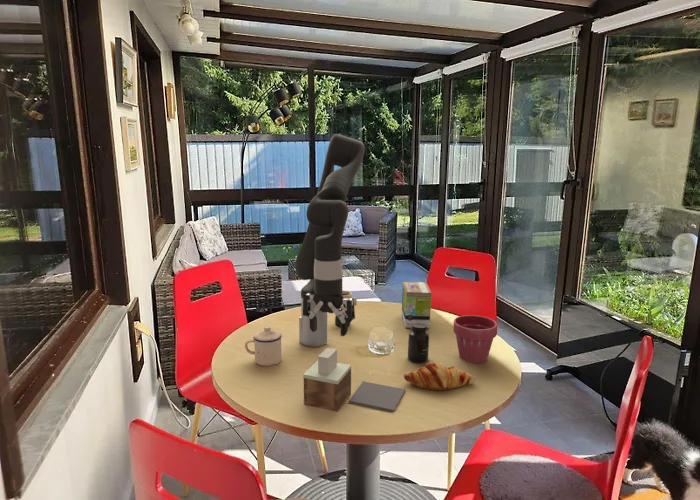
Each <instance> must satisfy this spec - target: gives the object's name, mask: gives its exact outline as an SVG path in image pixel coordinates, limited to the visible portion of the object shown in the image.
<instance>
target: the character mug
mask: <svg viewBox="0 0 700 500" xmlns="http://www.w3.org/2000/svg"><path fill="white" fill-rule="evenodd" d="M342 296H343V298H344V299H350V298H353V299H354V307H356V306H357V305H358V303H357V302H358V301H357V300H358V299H357V297H353V293H352V291H349V290H342ZM341 306H342V307H343V309H344V310H345V313H346V315H347V307H346V306H345V304H344V303H343V304H342V305H341ZM338 311H339V310H338ZM351 322H352V321H351ZM351 322H348V326H350V325H351ZM334 323H335V326H340V327H341V323H342V322H341V321H340V319H339V318H338V317H337V316H336V315H335V318H334Z"/></svg>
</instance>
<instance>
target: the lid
mask: <svg viewBox="0 0 700 500" xmlns="http://www.w3.org/2000/svg"><path fill="white" fill-rule="evenodd" d="M317 357H318V358H317V361H315V362H314V363H313V364H312V366H310V367H309V368H308V369H307V370H306V371H305V372H304V373H303V376H302V377H303V379H304V378H307V379H312V380H317V381H323V382H328V383H333V384H338V383H339V382H340V381H341V380H342V379H343V377H344V376H345V375H346V374H347V373H348V372H349V370H350V369H351V370H352V365H351V364H346V363H341V362H338V349H337V348H331V347H327V348H325V349H324V350H323V351H322V352H321V353H320V354H319V355H318V356H317Z"/></svg>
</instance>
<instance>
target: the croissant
mask: <svg viewBox="0 0 700 500" xmlns="http://www.w3.org/2000/svg"><path fill="white" fill-rule="evenodd" d="M403 378H404V380H405V381H406V382H408V383H410V384H413V385H414V386H417V387H418V388H420V389H427V390H435V391H437V390H438V391H447V390H453V389H454V388H460V387H463V386H469V385H471V384H473V383H474V382H475V380H476V377H475V376H473V375H471V374H470V373H468V372H467V371H462V370H461V369H458V368H457V367H456V366H454V365H453V366H447V367H446V365H444V364H443V363H441V362H429V363H425V366H423V367H419V368H418V369H417V371H415V370H413V371H412V370H411V371H410V372H409V373H405V374H404V375H403Z"/></svg>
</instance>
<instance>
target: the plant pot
mask: <svg viewBox="0 0 700 500" xmlns="http://www.w3.org/2000/svg"><path fill="white" fill-rule="evenodd" d="M452 329H453V333H454V334H455V337H456V344H457V348H458V349H457V350H458V355H459V358H460V359H461V360H462V361H464V362H466V363H471V364H482V363H485V362H487V360H488V357H489V354H490V351H491V348H492V345H493V341H494V339H495V338H496V337H497V334H498V323H497V322H496V321H495V320H494V319H493V318H489V317H488V316H485V315H484V316H482V315H474V314H467V315H466V314H465V315H460V316H457V317H456V318H454V320H453V327H452Z"/></svg>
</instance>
